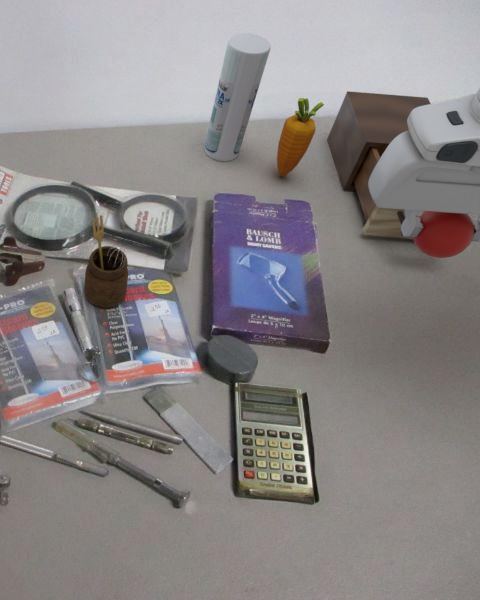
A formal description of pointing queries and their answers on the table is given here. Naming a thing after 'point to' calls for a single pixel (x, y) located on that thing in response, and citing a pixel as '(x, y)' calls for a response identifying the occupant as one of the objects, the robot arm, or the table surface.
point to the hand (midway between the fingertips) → (439, 235)
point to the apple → (444, 234)
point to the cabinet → (367, 128)
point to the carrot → (296, 137)
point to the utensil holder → (105, 272)
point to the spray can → (236, 95)
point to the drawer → (376, 217)
